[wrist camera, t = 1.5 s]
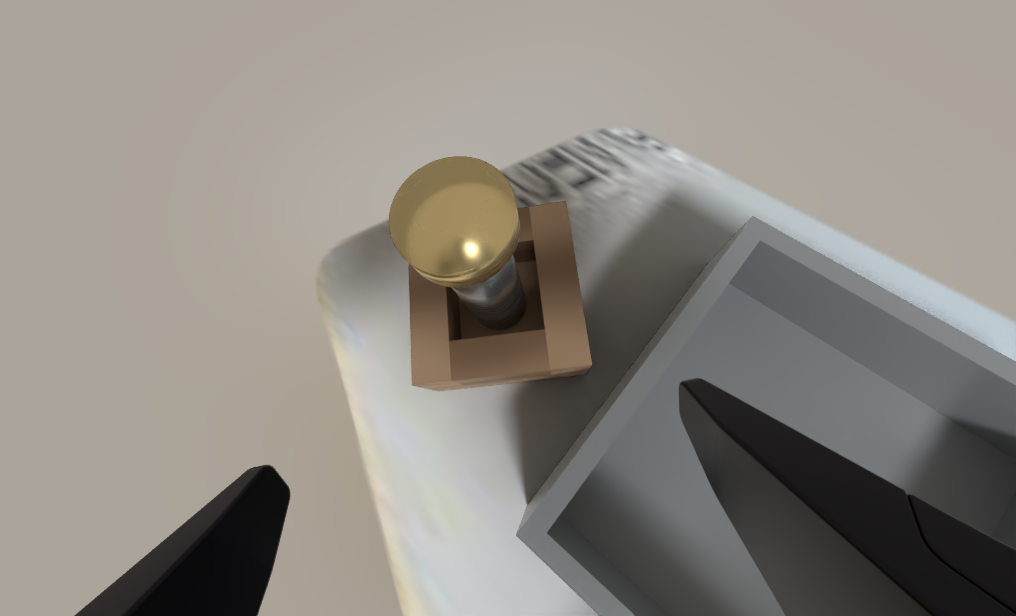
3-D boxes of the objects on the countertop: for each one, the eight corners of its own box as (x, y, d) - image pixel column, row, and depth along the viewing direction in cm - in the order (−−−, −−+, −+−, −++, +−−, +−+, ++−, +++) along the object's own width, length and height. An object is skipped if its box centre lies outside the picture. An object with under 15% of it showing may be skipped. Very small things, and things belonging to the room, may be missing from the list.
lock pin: (540, 334, 20) (522, 263, 11) (467, 343, 20) (389, 282, 11) (531, 266, 21) (508, 146, 12) (462, 275, 21) (388, 167, 12)
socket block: (586, 374, 20) (592, 364, 17) (438, 391, 21) (411, 385, 17) (564, 237, 23) (565, 200, 19) (432, 257, 23) (407, 225, 20)
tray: (1042, 463, 17) (1233, 482, 12) (855, 808, 15) (996, 995, 10) (708, 261, 21) (752, 216, 16) (527, 505, 19) (516, 535, 14)
